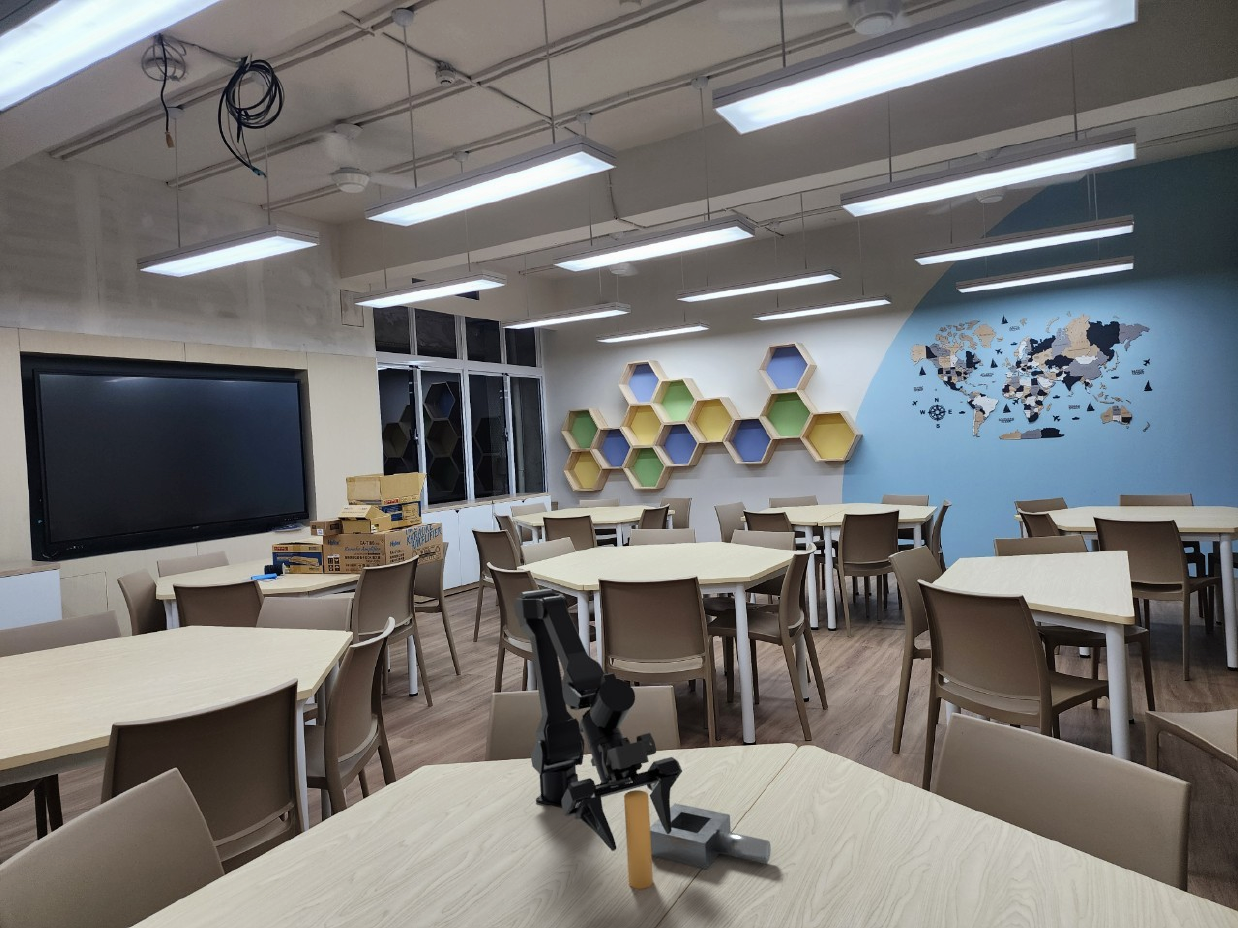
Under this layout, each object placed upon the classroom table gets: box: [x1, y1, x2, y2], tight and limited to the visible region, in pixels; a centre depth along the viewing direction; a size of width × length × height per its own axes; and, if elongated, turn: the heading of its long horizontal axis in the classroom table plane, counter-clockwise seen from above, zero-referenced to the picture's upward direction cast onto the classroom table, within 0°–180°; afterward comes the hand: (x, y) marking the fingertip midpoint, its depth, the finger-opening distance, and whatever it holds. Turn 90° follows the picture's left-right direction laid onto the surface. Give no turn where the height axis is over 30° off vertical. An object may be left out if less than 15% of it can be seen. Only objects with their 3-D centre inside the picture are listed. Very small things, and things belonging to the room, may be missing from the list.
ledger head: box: [650, 802, 772, 870], centre depth 120 cm, size 18×10×4 cm, turn 60°
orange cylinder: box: [623, 789, 654, 890], centre depth 113 cm, size 4×4×13 cm
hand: (642, 840), depth 112 cm, fingers open, 9 cm apart
